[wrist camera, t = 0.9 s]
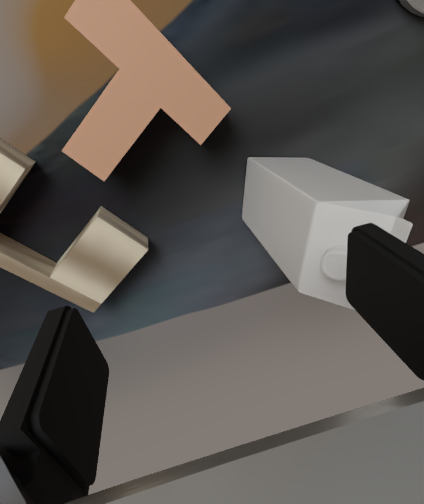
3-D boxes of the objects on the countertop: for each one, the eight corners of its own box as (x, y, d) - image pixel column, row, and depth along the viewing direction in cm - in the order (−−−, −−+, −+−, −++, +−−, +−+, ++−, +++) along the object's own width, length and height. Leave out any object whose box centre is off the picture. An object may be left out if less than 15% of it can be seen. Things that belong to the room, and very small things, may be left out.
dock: (-34, 115, 26) (-53, 118, 23) (147, 237, 34) (148, 249, 32) (-85, 202, 28) (-108, 214, 26) (96, 297, 37) (93, 312, 34)
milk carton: (307, 157, 34) (463, 221, 17) (296, 216, 37) (418, 317, 21) (247, 156, 32) (354, 225, 16) (241, 218, 36) (325, 328, 19)
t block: (103, -18, 24) (97, -36, 20) (220, 106, 30) (231, 108, 26) (23, 108, 26) (5, 110, 23) (145, 198, 32) (145, 211, 29)
